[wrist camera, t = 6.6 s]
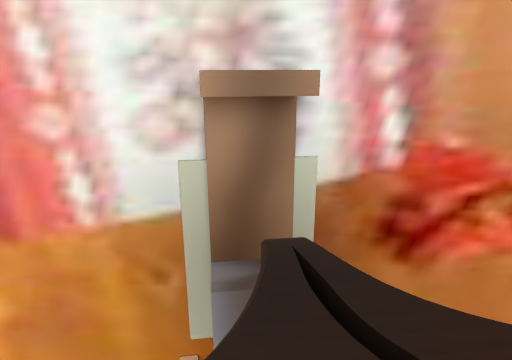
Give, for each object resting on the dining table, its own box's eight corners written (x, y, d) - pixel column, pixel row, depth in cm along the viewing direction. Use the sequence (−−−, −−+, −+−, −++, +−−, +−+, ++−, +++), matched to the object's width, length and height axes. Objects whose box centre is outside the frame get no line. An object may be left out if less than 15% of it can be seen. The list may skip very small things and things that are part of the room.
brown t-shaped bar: (293, 71, 19) (320, 69, 14) (286, 334, 24) (305, 399, 19) (202, 71, 18) (199, 70, 14) (215, 341, 23) (215, 409, 18)
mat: (316, 156, 21) (317, 156, 20) (308, 326, 24) (309, 328, 24) (178, 160, 20) (178, 161, 20) (190, 337, 23) (190, 339, 23)
